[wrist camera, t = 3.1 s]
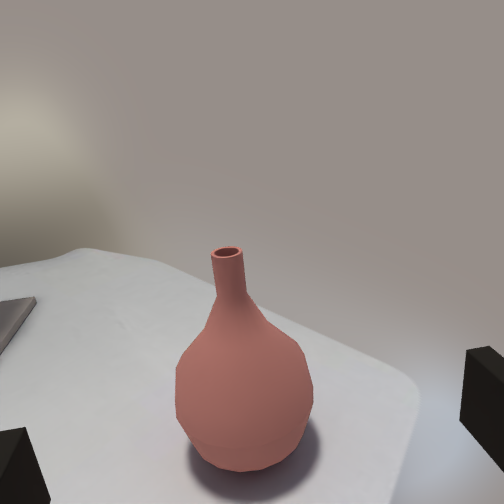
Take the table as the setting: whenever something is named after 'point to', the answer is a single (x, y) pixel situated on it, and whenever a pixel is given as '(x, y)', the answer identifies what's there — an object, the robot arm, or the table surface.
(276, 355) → the pink vase
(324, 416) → the table surface
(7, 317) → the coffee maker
